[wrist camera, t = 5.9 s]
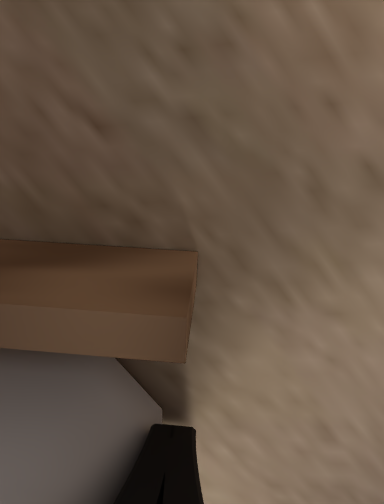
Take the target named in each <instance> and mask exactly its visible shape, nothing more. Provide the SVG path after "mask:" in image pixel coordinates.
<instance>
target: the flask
mask: <svg viewBox="0 0 384 504" xmlns="http://www.w3.org/2000/svg"><path fill="white" fill-rule="evenodd" d="M154 424H162V409H161V408H160V407H159V406H158V404H157V403H156V402H155V401H154V400H153V399H152V398H151V397H150V396H149V395H148V393H147V392H146V391H145V390H144V389H143V388H142V387H141V386H140V385H139V384H138V383H137V381H136V380H135V379H134V378H133V377H132V376H131V375H130V374H129V373H128V372H127V371H126V369H125V368H124V367H123V366H122V365H121V364H120V363H119V362H118V361H117V360H116V358H114V357H102V356H91V355H79V354H67V353H55V352H43V351H31V350H19V349H7V348H0V504H113V503H114V501H115V500H116V498H117V496H118V494H119V492H120V491H121V489H122V487H123V485H124V483H125V481H126V480H127V478H128V476H129V474H130V472H131V470H132V468H133V466H134V464H135V462H136V460H137V458H138V456H139V454H140V452H141V450H142V448H143V445H144V443H145V441H146V438H147V436H148V433H149V431H150V428H151V426H152V425H154Z"/></svg>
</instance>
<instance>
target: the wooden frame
mask: <svg viewBox="0 0 384 504" xmlns="http://www.w3.org/2000/svg"><path fill="white" fill-rule="evenodd" d="M197 261H198V252H193V251H178V250H162V249H146V248H131V247H115V246H99V245H84V244H68V243H52V242H37V241H21V240H5V239H0V348H7V349H19V350H31V351H43V352H55V353H67V354H79V355H91V356H102V357H114V358H126V359H138V360H150V361H162V362H174V363H185V362H186V355H187V348H188V341H189V334H190V327H191V320H192V313H193V306H194V299H195V292H196V282H197Z"/></svg>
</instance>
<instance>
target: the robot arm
mask: <svg viewBox="0 0 384 504" xmlns="http://www.w3.org/2000/svg"><path fill="white" fill-rule="evenodd" d="M113 504H204V502H203V497H202V492H201V486H200V480H199V473H198V465H197V455H196V430H195V429H194V428H193V427H186V426H176V425H165V424H154V425H152V426H151V428H150V431H149V433H148V436H147V438H146V441H145V443H144V445H143V448H142V450H141V452H140V454H139V456H138V458H137V460H136V462H135V464H134V466H133V468H132V470H131V472H130V474H129V476H128V478H127V480H126V481H125V483H124V485H123V487H122V489H121V491H120V492H119V494H118V496H117V498H116V500H115V501H114V503H113Z"/></svg>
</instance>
